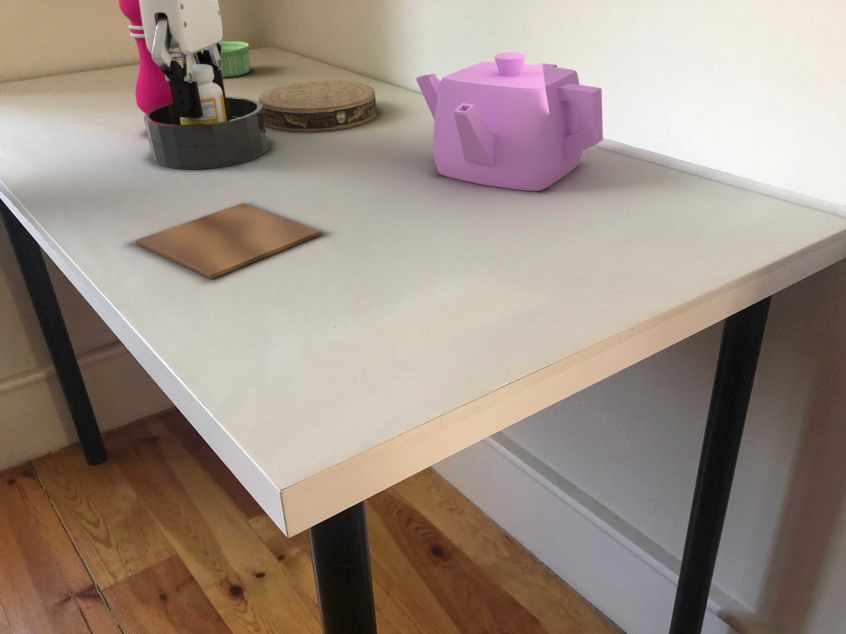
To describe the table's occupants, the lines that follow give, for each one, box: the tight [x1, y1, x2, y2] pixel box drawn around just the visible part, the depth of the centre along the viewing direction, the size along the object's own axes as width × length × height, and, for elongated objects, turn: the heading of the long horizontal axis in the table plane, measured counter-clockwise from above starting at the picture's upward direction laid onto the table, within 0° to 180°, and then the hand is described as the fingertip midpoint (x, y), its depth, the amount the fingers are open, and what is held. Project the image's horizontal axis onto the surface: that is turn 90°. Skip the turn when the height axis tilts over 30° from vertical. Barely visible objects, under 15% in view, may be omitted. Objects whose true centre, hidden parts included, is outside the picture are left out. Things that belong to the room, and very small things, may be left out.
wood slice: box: [258, 80, 378, 133], centre depth 110 cm, size 16×16×3 cm
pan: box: [143, 96, 269, 170], centre depth 96 cm, size 14×14×5 cm
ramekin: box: [201, 40, 251, 78], centre depth 135 cm, size 9×9×4 cm
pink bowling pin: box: [118, 0, 176, 114], centre depth 100 cm, size 7×7×20 cm
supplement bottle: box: [180, 63, 227, 125], centre depth 95 cm, size 5×5×10 cm
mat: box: [135, 202, 322, 280], centre depth 73 cm, size 12×12×1 cm
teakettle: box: [415, 52, 604, 192], centre depth 86 cm, size 17×17×12 cm
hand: (201, 108), depth 95 cm, fingers closed on supplement bottle, 5 cm apart
